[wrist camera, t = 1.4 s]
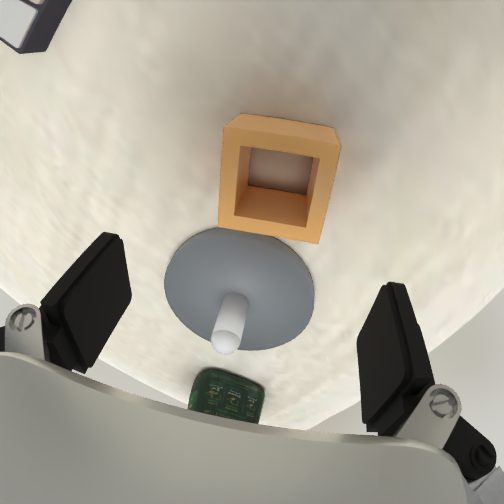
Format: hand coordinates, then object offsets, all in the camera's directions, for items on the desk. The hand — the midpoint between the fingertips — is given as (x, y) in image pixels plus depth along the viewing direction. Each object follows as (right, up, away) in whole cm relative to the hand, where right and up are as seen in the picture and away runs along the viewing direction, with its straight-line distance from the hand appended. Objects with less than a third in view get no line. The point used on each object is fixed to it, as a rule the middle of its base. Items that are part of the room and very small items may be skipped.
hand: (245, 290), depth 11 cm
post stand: (-1, -2, +19) cm, 19 cm away
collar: (+2, +8, +11) cm, 14 cm away
